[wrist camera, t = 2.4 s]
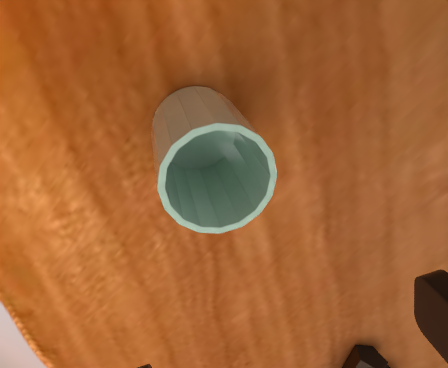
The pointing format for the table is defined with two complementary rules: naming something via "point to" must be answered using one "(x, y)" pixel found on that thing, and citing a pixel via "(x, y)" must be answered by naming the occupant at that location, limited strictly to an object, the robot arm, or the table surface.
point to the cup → (209, 162)
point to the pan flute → (365, 358)
